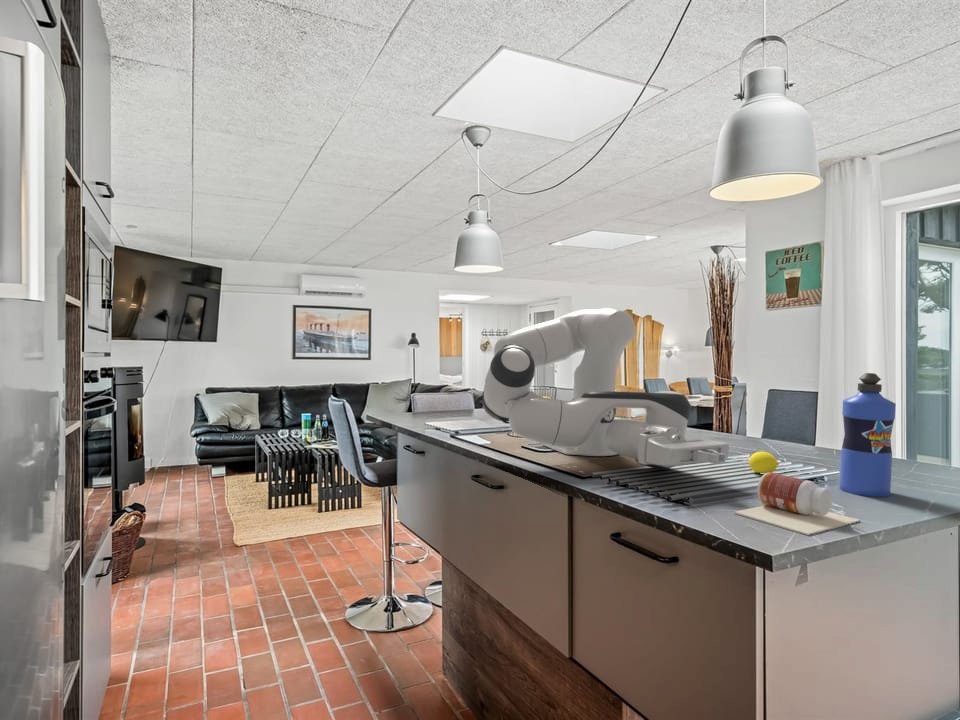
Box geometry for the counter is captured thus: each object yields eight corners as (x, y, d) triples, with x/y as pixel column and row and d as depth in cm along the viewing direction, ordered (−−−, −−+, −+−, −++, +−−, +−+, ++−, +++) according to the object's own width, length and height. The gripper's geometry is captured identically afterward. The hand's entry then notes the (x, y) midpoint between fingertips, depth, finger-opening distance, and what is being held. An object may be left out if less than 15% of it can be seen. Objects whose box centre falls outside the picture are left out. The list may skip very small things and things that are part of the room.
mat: (734, 513, 108) (734, 511, 108) (786, 502, 116) (786, 500, 116) (808, 535, 97) (808, 533, 97) (860, 521, 105) (860, 519, 105)
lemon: (744, 475, 142) (742, 452, 142) (755, 472, 145) (753, 450, 146) (773, 477, 137) (771, 453, 137) (784, 474, 140) (782, 450, 140)
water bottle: (828, 485, 131) (834, 371, 130) (868, 485, 132) (874, 372, 131) (859, 497, 122) (865, 374, 121) (902, 497, 123) (908, 375, 122)
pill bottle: (752, 497, 111) (813, 512, 102) (762, 466, 113) (823, 479, 104) (767, 508, 115) (828, 524, 105) (777, 478, 116) (837, 492, 107)
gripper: (694, 457, 137) (750, 470, 126) (632, 463, 126) (688, 479, 114) (696, 430, 137) (752, 441, 126) (634, 434, 126) (690, 446, 114)
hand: (721, 459), depth 120 cm, fingers closed
